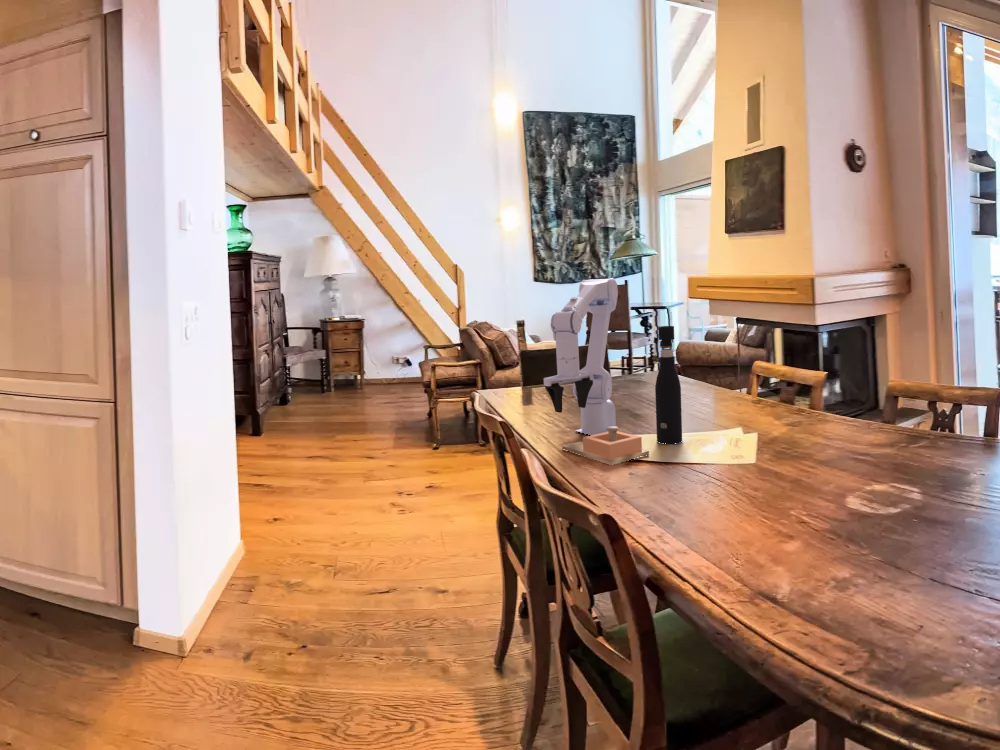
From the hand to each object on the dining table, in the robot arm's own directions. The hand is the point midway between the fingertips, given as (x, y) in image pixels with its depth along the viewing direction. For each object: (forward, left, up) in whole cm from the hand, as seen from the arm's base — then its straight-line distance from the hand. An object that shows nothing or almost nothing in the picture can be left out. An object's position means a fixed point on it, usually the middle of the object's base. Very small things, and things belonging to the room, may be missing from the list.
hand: (570, 409), depth 165 cm
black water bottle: (-21, +14, -10) cm, 27 cm away
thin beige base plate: (-2, +11, -10) cm, 15 cm away
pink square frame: (-2, +14, -9) cm, 16 cm away
